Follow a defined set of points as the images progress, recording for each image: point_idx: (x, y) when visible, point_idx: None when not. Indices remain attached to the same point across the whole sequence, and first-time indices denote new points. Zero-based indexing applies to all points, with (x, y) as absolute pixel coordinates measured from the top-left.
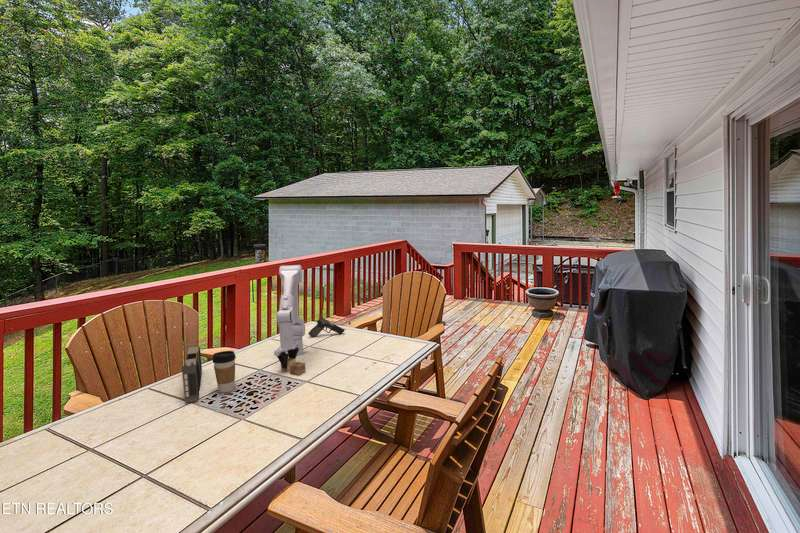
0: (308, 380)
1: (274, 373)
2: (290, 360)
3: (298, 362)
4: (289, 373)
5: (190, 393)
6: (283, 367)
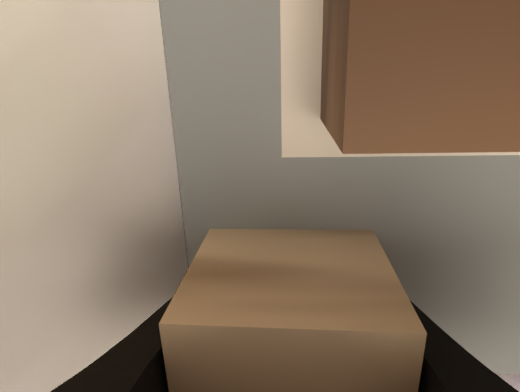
0: None
1: None
2: (307, 359)
3: (385, 39)
4: (482, 153)
5: None
6: None
